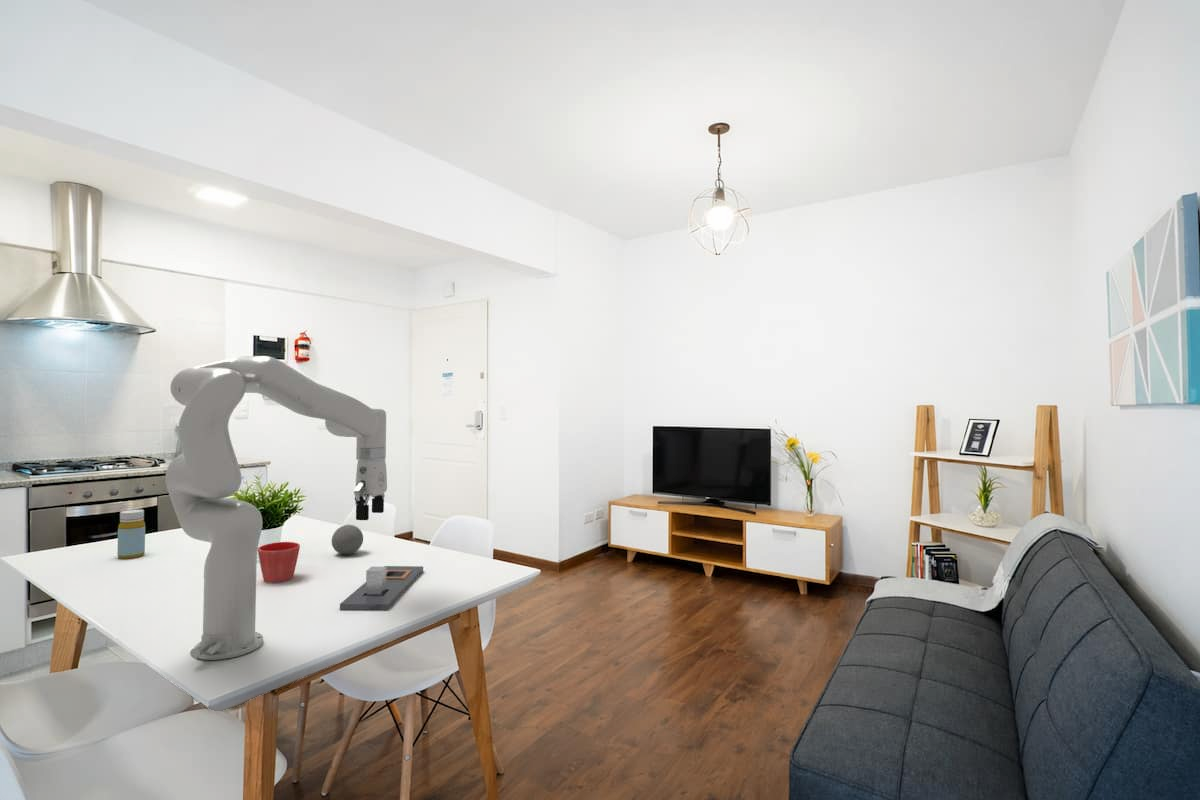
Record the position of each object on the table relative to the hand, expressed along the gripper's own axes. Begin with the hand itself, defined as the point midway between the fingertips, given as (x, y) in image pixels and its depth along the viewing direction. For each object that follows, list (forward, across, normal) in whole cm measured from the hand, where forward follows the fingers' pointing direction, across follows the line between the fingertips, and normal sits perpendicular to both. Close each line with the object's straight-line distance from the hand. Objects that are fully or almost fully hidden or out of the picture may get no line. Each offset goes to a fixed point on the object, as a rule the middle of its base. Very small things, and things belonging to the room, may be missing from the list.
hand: (370, 516), depth 159 cm
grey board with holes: (+22, +6, -2) cm, 23 cm away
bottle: (+22, +29, +93) cm, 100 cm away
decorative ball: (+22, +40, +25) cm, 52 cm away
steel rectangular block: (+22, -2, -3) cm, 22 cm away
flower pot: (+22, +11, +32) cm, 41 cm away
